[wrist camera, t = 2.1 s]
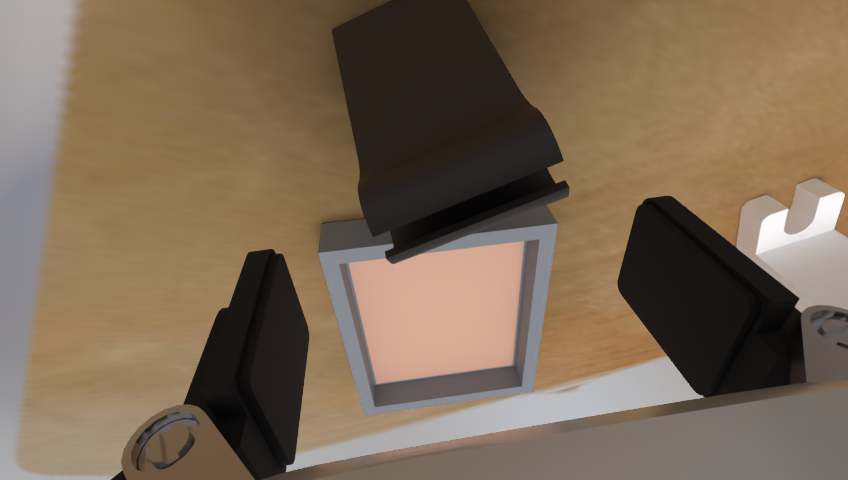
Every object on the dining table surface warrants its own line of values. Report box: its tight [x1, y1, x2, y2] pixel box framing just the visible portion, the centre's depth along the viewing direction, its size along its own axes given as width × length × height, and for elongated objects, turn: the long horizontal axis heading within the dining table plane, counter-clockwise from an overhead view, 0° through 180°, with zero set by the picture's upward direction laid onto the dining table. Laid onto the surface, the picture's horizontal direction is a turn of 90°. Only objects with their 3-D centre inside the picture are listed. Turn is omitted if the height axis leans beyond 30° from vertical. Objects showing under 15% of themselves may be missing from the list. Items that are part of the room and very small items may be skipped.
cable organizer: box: [736, 179, 848, 313], centre depth 28 cm, size 5×10×10 cm, turn 20°
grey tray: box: [318, 205, 558, 416], centre depth 30 cm, size 14×17×3 cm
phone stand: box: [332, 0, 569, 264], centre depth 17 cm, size 9×6×12 cm, turn 22°
